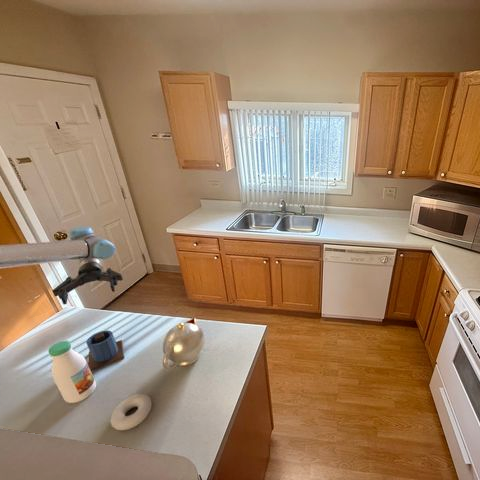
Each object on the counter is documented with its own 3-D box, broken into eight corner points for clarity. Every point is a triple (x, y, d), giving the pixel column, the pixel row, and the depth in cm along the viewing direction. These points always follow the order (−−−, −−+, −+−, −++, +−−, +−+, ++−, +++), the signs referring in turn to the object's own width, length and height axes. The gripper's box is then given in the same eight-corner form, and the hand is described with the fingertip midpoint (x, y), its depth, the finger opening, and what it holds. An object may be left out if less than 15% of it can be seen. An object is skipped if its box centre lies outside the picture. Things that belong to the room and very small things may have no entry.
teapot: (183, 340, 103) (176, 307, 97) (214, 345, 102) (209, 312, 95) (150, 379, 87) (139, 343, 80) (187, 386, 86) (178, 350, 79)
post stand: (88, 372, 88) (79, 351, 84) (89, 353, 95) (81, 333, 91) (124, 358, 94) (117, 338, 90) (122, 341, 101) (115, 322, 97)
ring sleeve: (90, 364, 90) (82, 347, 87) (97, 349, 96) (91, 333, 93) (114, 358, 93) (108, 342, 89) (120, 344, 99) (114, 328, 95)
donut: (122, 441, 70) (159, 410, 78) (118, 433, 69) (156, 403, 76) (106, 419, 75) (142, 392, 83) (102, 412, 73) (140, 385, 81)
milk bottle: (70, 409, 77) (45, 361, 69) (61, 395, 80) (36, 348, 72) (101, 389, 83) (81, 343, 75) (91, 377, 87) (71, 332, 79)
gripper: (128, 269, 117) (133, 291, 101) (53, 286, 102) (44, 315, 87) (124, 254, 113) (128, 275, 98) (45, 270, 99) (36, 297, 84)
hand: (89, 294), depth 93 cm, fingers open, 13 cm apart
